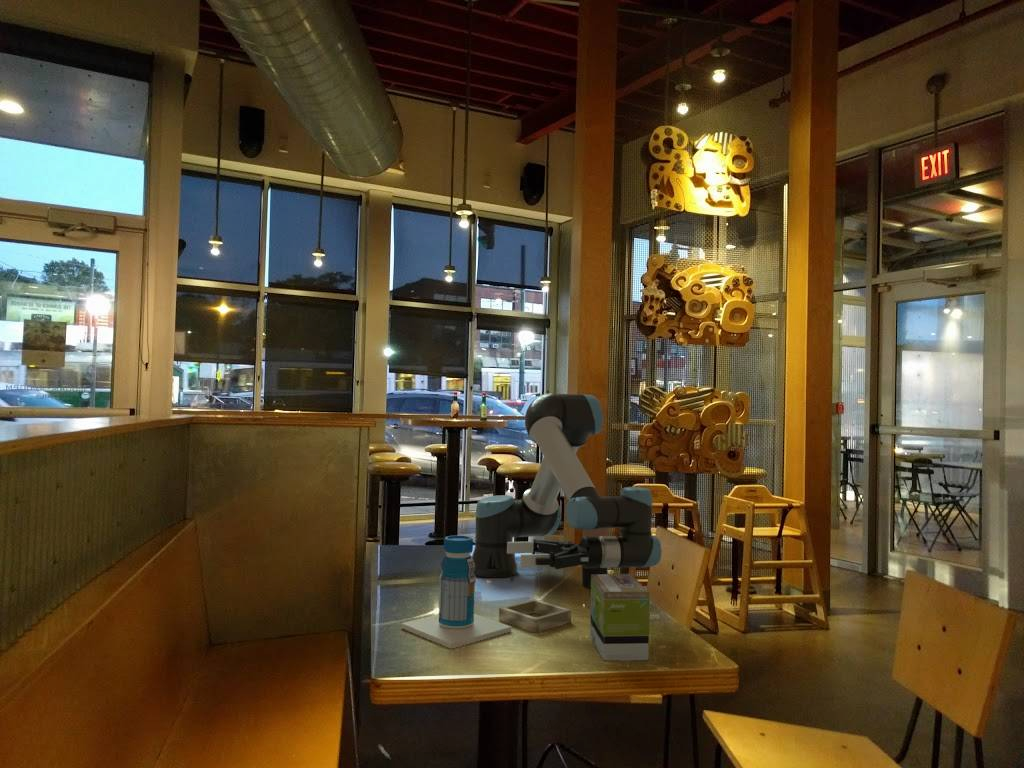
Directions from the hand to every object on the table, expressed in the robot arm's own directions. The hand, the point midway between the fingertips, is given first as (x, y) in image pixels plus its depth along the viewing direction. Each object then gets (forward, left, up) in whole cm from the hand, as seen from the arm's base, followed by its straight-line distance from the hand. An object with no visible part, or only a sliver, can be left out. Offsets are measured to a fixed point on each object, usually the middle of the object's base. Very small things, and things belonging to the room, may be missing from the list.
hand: (513, 554), depth 168 cm
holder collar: (+1, +7, -17) cm, 19 cm away
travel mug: (-12, +46, -17) cm, 51 cm away
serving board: (-6, -12, -17) cm, 22 cm away
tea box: (+26, +7, -17) cm, 32 cm away
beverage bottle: (-7, -11, -16) cm, 21 cm away
